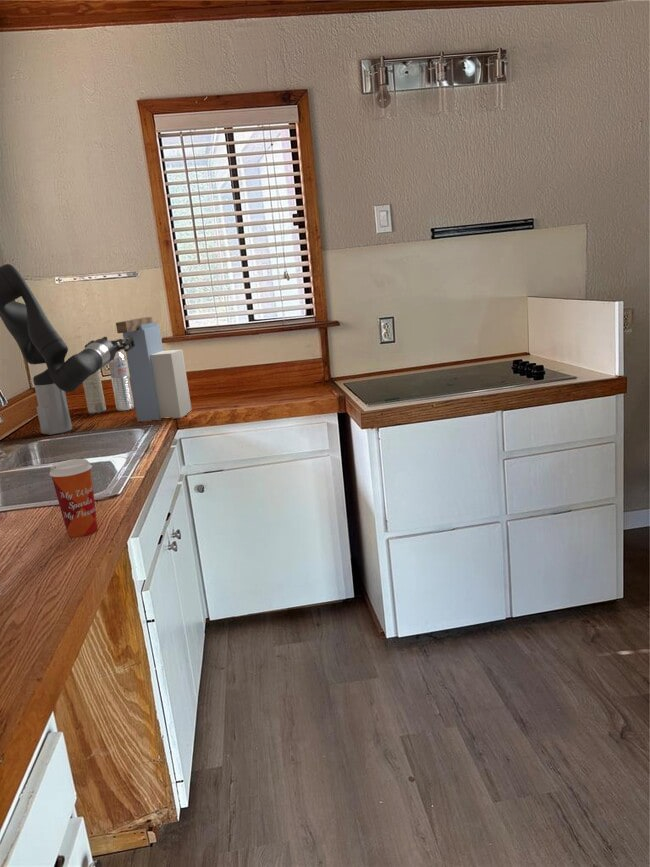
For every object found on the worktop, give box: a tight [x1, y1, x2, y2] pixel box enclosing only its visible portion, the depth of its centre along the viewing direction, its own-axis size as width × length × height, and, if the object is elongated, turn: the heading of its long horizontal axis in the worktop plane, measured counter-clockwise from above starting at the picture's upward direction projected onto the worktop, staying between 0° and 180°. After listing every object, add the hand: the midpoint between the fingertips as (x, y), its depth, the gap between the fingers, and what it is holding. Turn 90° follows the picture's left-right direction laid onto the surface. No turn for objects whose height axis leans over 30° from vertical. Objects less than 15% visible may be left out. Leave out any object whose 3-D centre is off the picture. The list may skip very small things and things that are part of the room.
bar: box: [115, 316, 154, 334], centre depth 220 cm, size 21×4×4 cm, turn 171°
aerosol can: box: [82, 369, 107, 415], centre depth 251 cm, size 7×7×20 cm
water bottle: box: [108, 351, 135, 412], centre depth 250 cm, size 7×7×25 cm
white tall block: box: [151, 348, 193, 419], centre depth 229 cm, size 11×8×23 cm
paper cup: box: [49, 458, 99, 538], centre depth 124 cm, size 8×8×14 cm
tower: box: [122, 321, 164, 422], centre depth 228 cm, size 13×8×34 cm, turn 171°
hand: (119, 338), depth 206 cm, fingers open, 8 cm apart
